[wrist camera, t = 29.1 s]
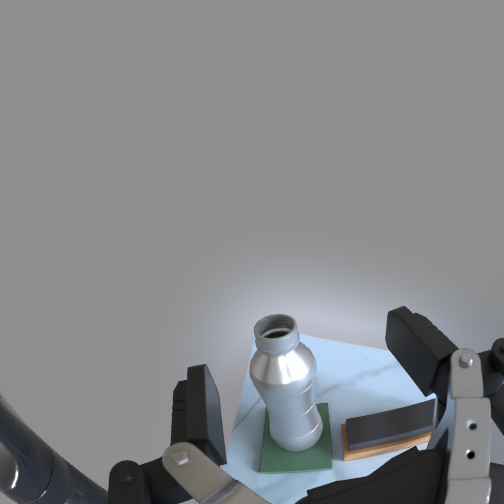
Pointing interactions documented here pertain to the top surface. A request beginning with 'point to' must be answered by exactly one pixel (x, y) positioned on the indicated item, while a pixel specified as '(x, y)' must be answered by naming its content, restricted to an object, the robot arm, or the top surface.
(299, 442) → the silver metal bottle
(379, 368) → the top surface
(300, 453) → the drying mat
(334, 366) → the top surface
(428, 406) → the grey and wooden block
